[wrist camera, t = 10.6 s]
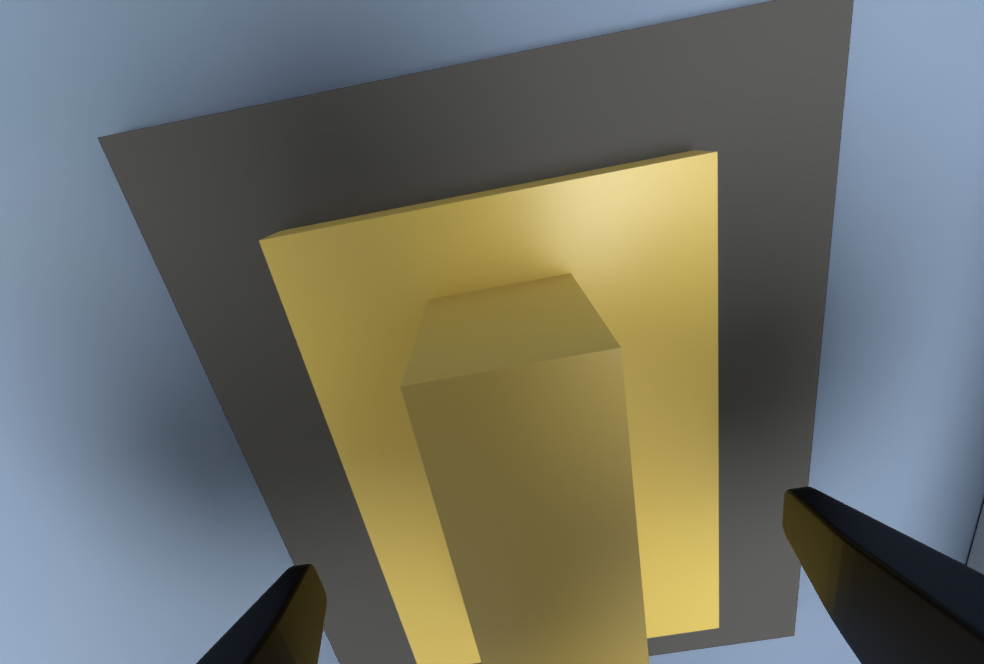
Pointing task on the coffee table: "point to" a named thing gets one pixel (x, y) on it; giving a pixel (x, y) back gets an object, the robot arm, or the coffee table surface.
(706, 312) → the lid
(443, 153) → the mat
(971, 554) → the box
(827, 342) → the coffee table surface
